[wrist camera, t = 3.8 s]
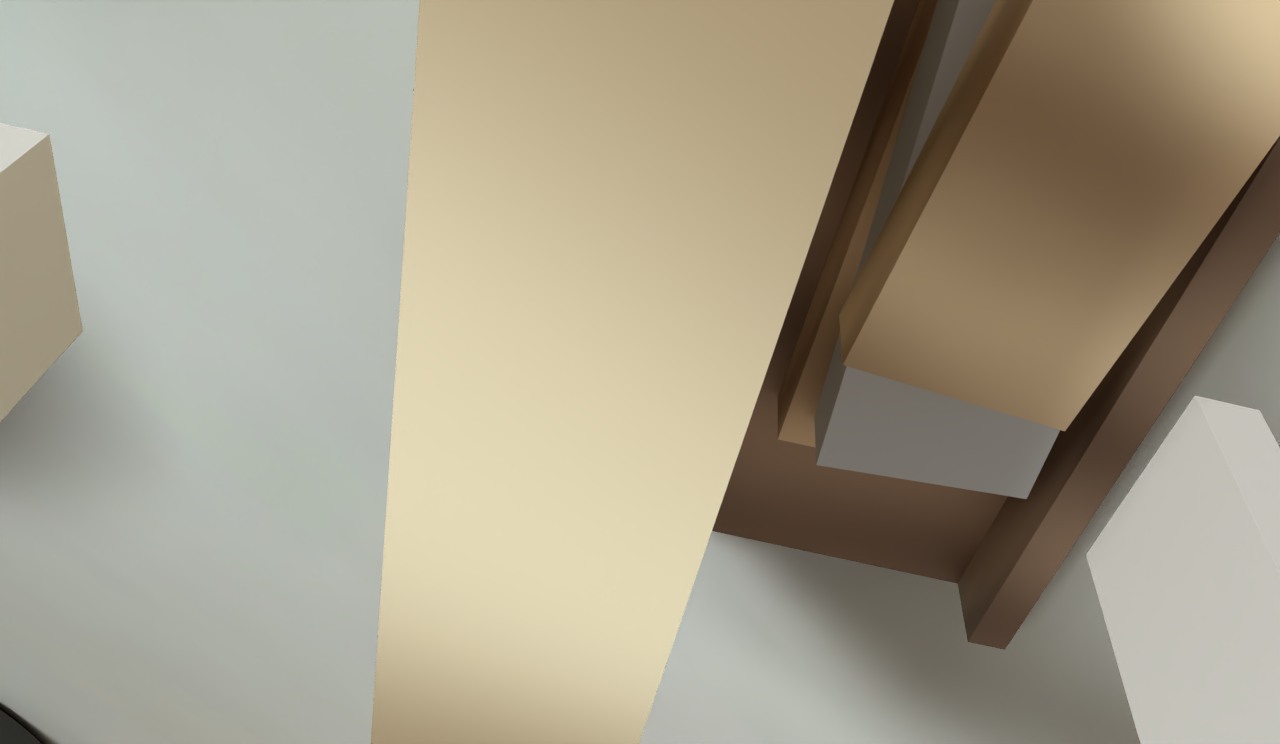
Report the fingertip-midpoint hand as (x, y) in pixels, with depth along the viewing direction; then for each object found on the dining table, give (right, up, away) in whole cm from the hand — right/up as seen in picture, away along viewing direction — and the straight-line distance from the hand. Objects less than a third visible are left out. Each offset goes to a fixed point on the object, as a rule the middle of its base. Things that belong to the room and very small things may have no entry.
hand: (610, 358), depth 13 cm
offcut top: (+8, +4, +6) cm, 10 cm away
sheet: (+1, +6, +9) cm, 11 cm away
